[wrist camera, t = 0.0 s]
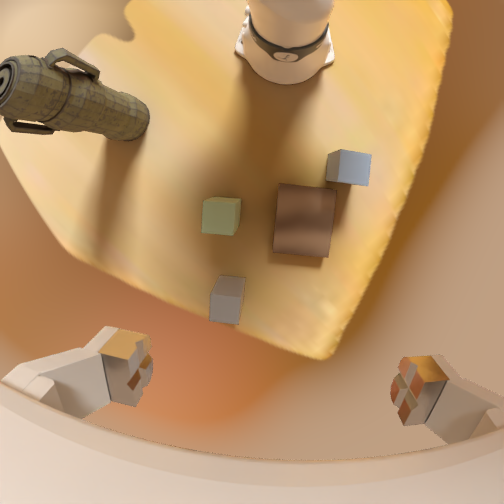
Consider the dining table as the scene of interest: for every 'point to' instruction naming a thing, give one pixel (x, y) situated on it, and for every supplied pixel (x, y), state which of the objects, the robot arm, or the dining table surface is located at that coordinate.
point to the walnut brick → (304, 220)
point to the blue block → (348, 167)
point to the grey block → (227, 299)
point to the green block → (221, 215)
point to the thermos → (66, 99)
